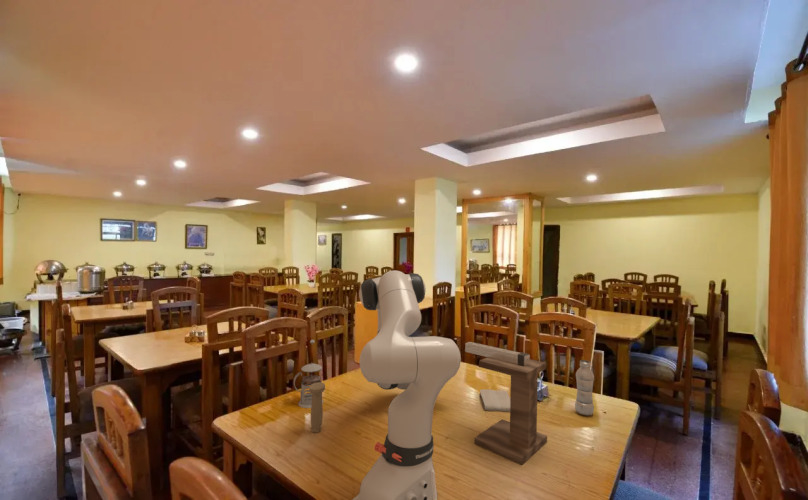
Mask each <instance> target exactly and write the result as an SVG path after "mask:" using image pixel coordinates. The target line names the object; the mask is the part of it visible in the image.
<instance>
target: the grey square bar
mask: <svg viewBox="0 0 808 500" xmlns="http://www.w3.org/2000/svg"><path fill="white" fill-rule="evenodd" d="M464 346H465V349H464V352H465V353H469V354H472V355H478V356H481V357H485V358H487V357H489V358H493V359H497V360H501V361H505V362H509V363H514V364H518V365H521V366H527V365H529V364H530V359H531V358H530V357H531V356H530V355H531V354H529V353H527V352H518V351H514V350H510V349H504V348H501V347H495V346H492V345H486V344H481V343H477V342H472V341H468V342H466V343H465V345H464Z"/></svg>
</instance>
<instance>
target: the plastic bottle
mask: <svg viewBox="0 0 808 500" xmlns="http://www.w3.org/2000/svg"><path fill="white" fill-rule="evenodd" d="M575 379H576V400H575V403H574V406H575V408H574V409H575V411H576V412H577V413H578V414H580V415H582V416H592V415H593V414H594V410H595V408H594V407H595V406H594V401H593V386H594V381H595V375H594V372H593V371H592V370H591V361H589V360H586V359H581V360H579V368H578V369H577V370H576V372H575Z"/></svg>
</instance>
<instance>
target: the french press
mask: <svg viewBox="0 0 808 500" xmlns="http://www.w3.org/2000/svg"><path fill="white" fill-rule="evenodd" d="M309 343H310V344H315V343H316V342H315V339H311V340H310V341H309ZM300 369H301V371H300V372H298V373H296V374H295V376H294V378H293V386H294V389H295V391H297V392H299V393H300V401H298V404H297V405H298V406H299V407H301V408H304V409H311V404H312V393H310V391H309V387H310V385H312V384H314V383H318V382H320V383H322V380H321V376H319V375H316V374H315V375H314V374H313V373H315V372H316V373H317V372H321V370H322V369H323V367H322V366H321V365H320V364H318V363H308V364H305V365H303V366H302V367H301V368H300ZM302 372H304V373H310V375H305V376H303V373H302ZM299 376H301V379H302V381H301V386H300V389H299V388H297V387H296V384H295V383H296V380H297V378H298V377H299ZM323 404H324V400H323V399H322V405H323Z"/></svg>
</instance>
